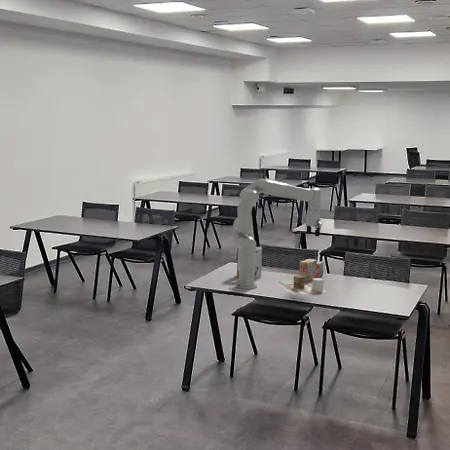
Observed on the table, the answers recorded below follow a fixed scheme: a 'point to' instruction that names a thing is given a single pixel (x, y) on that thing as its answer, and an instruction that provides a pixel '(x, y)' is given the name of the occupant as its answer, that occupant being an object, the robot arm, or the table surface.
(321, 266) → the stack of blocks
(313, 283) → the pale grey block
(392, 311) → the table surface
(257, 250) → the hard drive box
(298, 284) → the walnut block
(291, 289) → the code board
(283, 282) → the mat
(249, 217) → the robot arm
